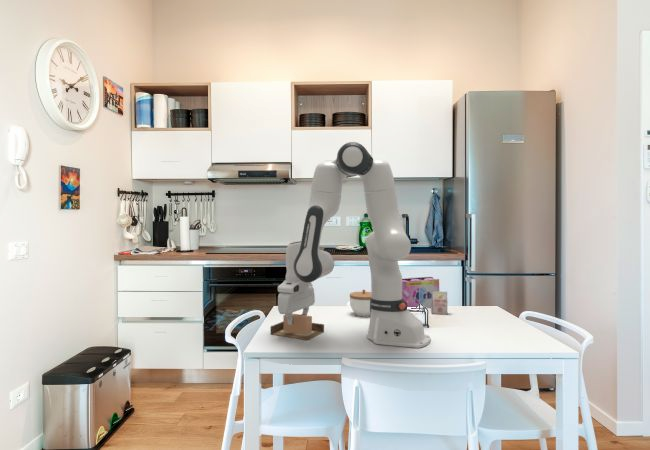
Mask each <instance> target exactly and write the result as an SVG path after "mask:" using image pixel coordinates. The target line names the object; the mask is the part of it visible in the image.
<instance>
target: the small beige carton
mask: <svg viewBox="0 0 650 450" xmlns="http://www.w3.org/2000/svg"><path fill="white" fill-rule="evenodd" d="M448 303H449V302H448V291H440V290H439V291H432V295H431V307H430V308H431V309H430V312H431V315H436V316H437V315H438V316H439V315H441V316H447V315H448Z"/></svg>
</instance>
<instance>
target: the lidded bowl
mask: <svg viewBox="0 0 650 450" xmlns="http://www.w3.org/2000/svg"><path fill="white" fill-rule="evenodd" d="M370 298H371V291H366V289H362V291H354V292H350V293H349V303H350V305H349V306H350V307H351V308H350V309H352V312H353V313H355V315H356V316H358V317H370V316H371V313H370Z"/></svg>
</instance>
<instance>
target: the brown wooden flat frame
mask: <svg viewBox="0 0 650 450" xmlns="http://www.w3.org/2000/svg"><path fill="white" fill-rule="evenodd" d="M324 332H325V324H323V323H316V322H312V332H311V333H309V334H307V335H303V334H297V333H291V332H285V331H283V321H281V322H278V323H275V324H273V325H271V326H270V335H272V336H273V335H274V336H277V337H278V336H279V337H283V338H284V337H285V338H291V339H297V340H302V341H309V340H311V339H313V338H315V337H318V336H319V335H321V334H324Z"/></svg>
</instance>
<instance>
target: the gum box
mask: <svg viewBox="0 0 650 450" xmlns="http://www.w3.org/2000/svg"><path fill="white" fill-rule="evenodd" d="M432 291H439V292H440V279H439V278H434V277H432V276H425V277H424V276H423V277H411V278H410V277H409V278H407V277H406V278H402V298H403V299H404V300H405V301H406V302H407V301H408V307H416V308H417V307H418V306H419V304H422V305H424V306H425V307H427V308H428V309H429V308H431V295H432ZM427 308H426V309H427Z"/></svg>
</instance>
